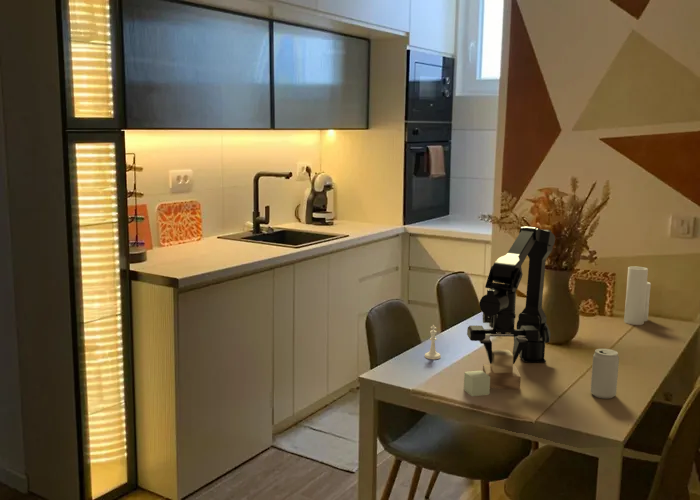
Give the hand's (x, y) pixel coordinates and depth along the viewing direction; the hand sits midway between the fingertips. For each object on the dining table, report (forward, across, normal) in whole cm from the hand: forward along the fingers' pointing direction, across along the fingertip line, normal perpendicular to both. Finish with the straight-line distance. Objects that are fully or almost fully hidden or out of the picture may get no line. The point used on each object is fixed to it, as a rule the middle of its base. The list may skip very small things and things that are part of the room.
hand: (501, 363), depth 196 cm
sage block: (+6, +8, +7) cm, 12 cm away
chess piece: (+6, +16, -22) cm, 28 cm away
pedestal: (+6, 0, 0) cm, 6 cm away
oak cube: (+2, 0, 0) cm, 2 cm away
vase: (+6, -63, -64) cm, 90 cm away
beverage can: (+6, -25, +9) cm, 27 cm away
